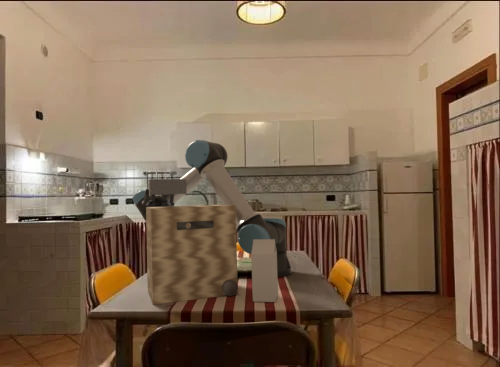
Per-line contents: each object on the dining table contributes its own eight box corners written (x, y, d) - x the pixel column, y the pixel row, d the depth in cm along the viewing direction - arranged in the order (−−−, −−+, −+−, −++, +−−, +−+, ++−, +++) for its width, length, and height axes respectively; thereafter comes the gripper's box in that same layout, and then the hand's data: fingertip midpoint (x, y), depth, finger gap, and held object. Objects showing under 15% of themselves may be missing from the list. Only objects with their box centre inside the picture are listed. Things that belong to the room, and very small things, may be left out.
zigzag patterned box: (222, 282, 142) (220, 204, 143) (239, 295, 123) (237, 205, 124) (147, 291, 132) (146, 207, 133) (153, 306, 113) (151, 208, 114)
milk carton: (275, 302, 113) (273, 240, 114) (252, 302, 115) (250, 240, 115) (278, 296, 120) (276, 238, 121) (256, 295, 122) (255, 238, 122)
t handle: (174, 194, 153) (173, 182, 153) (186, 193, 125) (186, 179, 125) (143, 195, 149) (143, 182, 149) (150, 194, 121) (149, 179, 121)
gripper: (176, 217, 161) (184, 189, 142) (137, 219, 155) (139, 190, 137) (175, 202, 165) (182, 173, 146) (136, 203, 159) (138, 173, 140)
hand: (161, 181), depth 141 cm, fingers closed on t handle, 3 cm apart
